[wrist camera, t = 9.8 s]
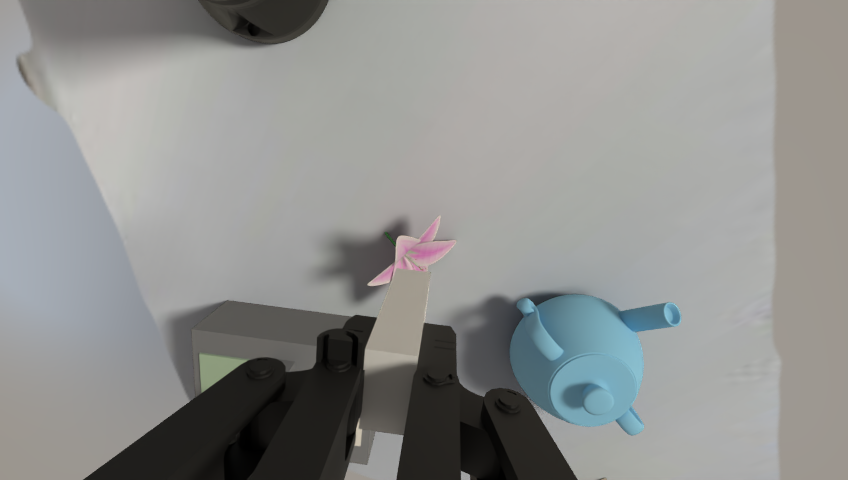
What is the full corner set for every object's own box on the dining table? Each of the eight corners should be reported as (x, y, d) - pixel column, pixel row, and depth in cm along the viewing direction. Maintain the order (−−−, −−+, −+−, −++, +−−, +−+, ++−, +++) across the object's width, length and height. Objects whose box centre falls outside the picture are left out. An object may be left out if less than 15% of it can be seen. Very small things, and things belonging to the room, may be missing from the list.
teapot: (471, 327, 54) (476, 387, 42) (590, 223, 49) (635, 257, 37) (570, 419, 57) (602, 500, 45) (693, 329, 52) (766, 393, 40)
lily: (379, 295, 55) (405, 338, 47) (328, 234, 48) (348, 273, 40) (449, 241, 56) (487, 275, 48) (409, 174, 49) (444, 201, 41)
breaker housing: (387, 321, 54) (371, 369, 44) (378, 420, 59) (362, 485, 48) (227, 300, 55) (174, 342, 45) (230, 399, 60) (183, 458, 49)
